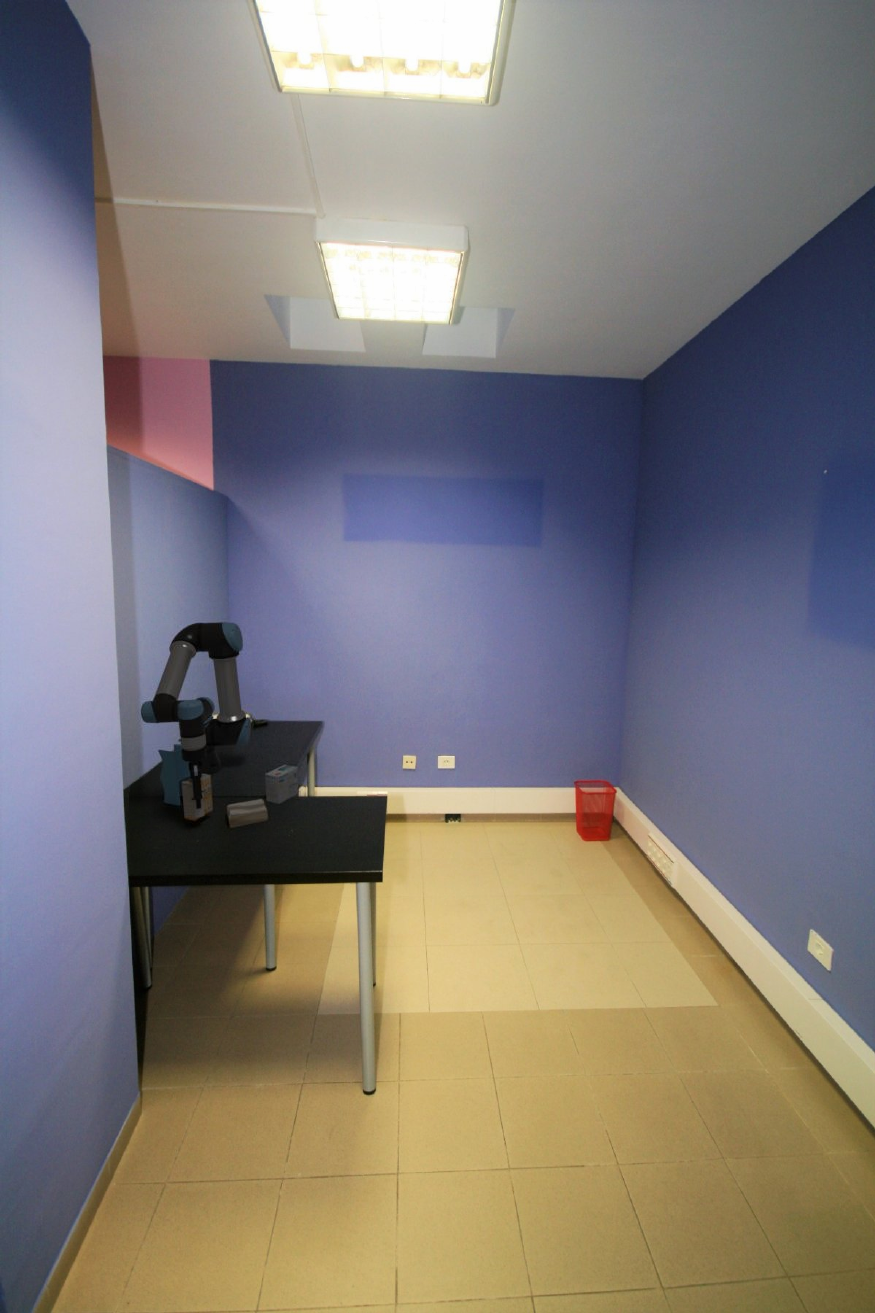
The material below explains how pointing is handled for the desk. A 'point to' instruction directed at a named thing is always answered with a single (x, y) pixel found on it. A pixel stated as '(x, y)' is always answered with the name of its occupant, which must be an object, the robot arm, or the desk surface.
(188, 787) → the supplement box
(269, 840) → the desk surface
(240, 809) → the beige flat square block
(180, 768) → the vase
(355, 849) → the desk surface
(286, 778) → the light bulb box
